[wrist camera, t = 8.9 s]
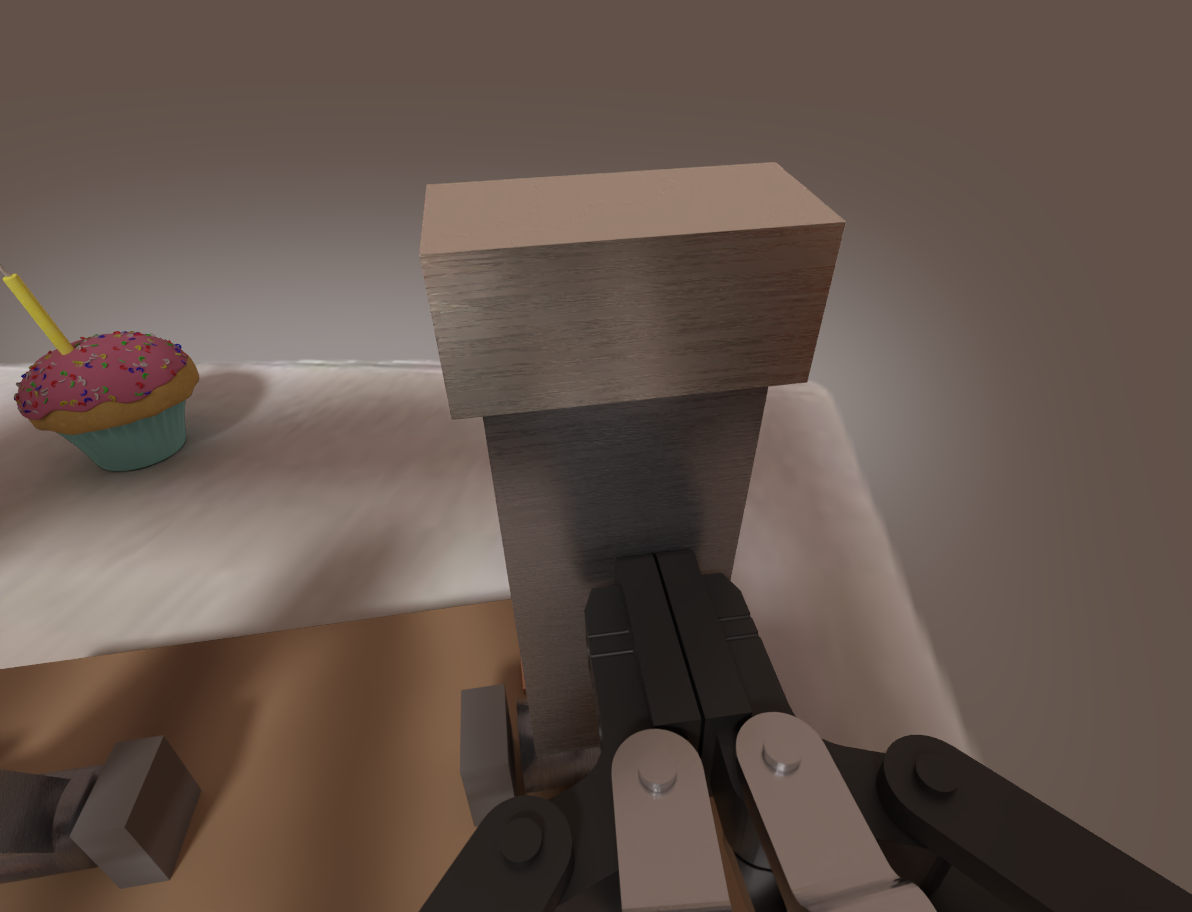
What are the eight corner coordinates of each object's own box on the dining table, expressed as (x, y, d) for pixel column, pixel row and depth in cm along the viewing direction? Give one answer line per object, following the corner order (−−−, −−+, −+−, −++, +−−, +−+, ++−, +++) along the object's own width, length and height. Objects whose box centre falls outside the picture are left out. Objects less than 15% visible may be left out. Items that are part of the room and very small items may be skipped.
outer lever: (528, 808, 18) (419, 254, 7) (522, 725, 20) (426, 185, 9) (711, 776, 18) (846, 221, 8) (689, 698, 20) (775, 161, 10)
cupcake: (70, 510, 35) (-63, 294, 28) (51, 447, 40) (-65, 253, 34) (238, 449, 39) (157, 251, 33) (201, 399, 45) (124, 220, 38)
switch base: (-376, 1360, 13) (-713, 1340, 10) (25, 723, 24) (-67, 618, 21) (873, 1068, 16) (936, 979, 12) (703, 624, 27) (713, 518, 24)
